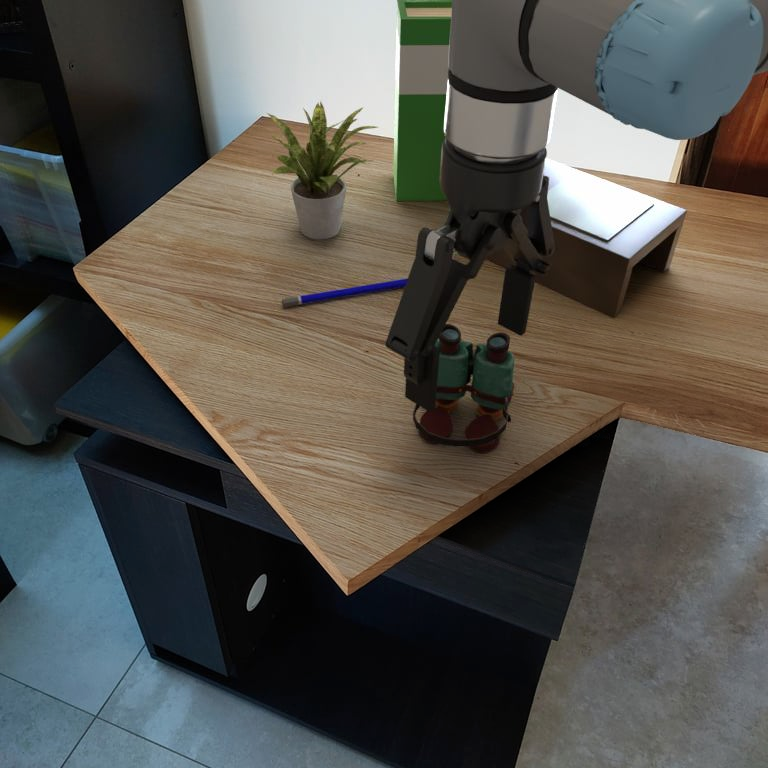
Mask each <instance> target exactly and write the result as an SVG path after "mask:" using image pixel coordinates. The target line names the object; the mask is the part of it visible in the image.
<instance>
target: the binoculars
mask: <svg viewBox="0 0 768 768" xmlns="http://www.w3.org/2000/svg"><path fill="white" fill-rule="evenodd" d="M510 344H511V336H510V334H508V333H506V332H502V331H501V332H499V331H498V332H495V333H493V334H491V335H490V336H489V337H488V338H487V339H486V343H480V342H478V343H476V347H475V349H474V344H473V342H472V341H468V340H463V339H462V331H461V330H460V329H459V328H458V327H457V326H456V325H454V324H451V323H446V324H445V326H444V328H443V330H442V332H441V334H440V336H439V338H438V340H437V342H436V344H435V346H436V347H437V348H439V349H440V357H439V368H438V379H437V391H436V402H435V408H434V409H433V410H431V411H430V412H428V411H427V410H425V412H424V413H423V414H422V415H421V417H420V420H419V421H418V419H417V417H416V414H417V411H418V410H419V409H420V408H421V407H420V406H419V405H417V404H415V403H414V404H415V405H414V408H413V412H412V421H413V424H414V426H415V429H416V430H417V431H418V434H419V436H420V437H421V438H422V440H423V441H425V442H426V443H428V444H431V445H441V446H448V447H455V448H461V447H462V448H469V449H470V450H471V451H473V452H475V453H479V454H486V453H487V454H488V453H490V452H492V451H494V450H495V449H496V448H497V447H498V446H499V445H500V441H501V435H502V434H503V433H504V432H505V431H506V429H507V425H508V423H510V422H512V416H511V414H510V412H509V410H508V409H509V406H510V404H511V401H512V398H513V396H514V395H515V392H514V390H515V383H514V373H515V371H514V370H515V356H514V354H513V353H512V352H511V351H509V349H510ZM470 383H471V384H470ZM467 392H469V393H470V398H471V399H472V401H474V402H475V403H476V413H477V414H478V416H476V417H475V418H473V419H472V420H471V421H470V422H469V423H468V424H467V426H466V428H465V430H464V435H465V438H452V437H451V436H452V433H453V430H454V420H453V417H452V415H451V414H450V412H453V411H454V410H456V409H457V408H458V406H459V403H460V402H459V401H460V399H463V398H464V397H465V396H466V394H467ZM502 417H503V418H504V421H505V423H503V424H502V425H501V426H500V427H499V425H498V423H497V422H496V420H499V419H500V418H502Z"/></svg>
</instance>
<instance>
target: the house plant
mask: <svg viewBox="0 0 768 768" xmlns="http://www.w3.org/2000/svg"><path fill="white" fill-rule="evenodd" d="M364 108H365V107H364V106H363V107H361V108H358V109H356V110H354V111H353V112H352V113H350V114H349V115H348V116H347V117H346V118H345V119H343V120H341V121H340V122H337V123H335V124H332V125H330V126H329V127H328V121H327V116H326V110H325V107H324V105H323V103H322V101H320V102H317V103H316V105H315V107H314V109H313V113H312V117H310V115H309V113H308V112H307V110H306V109H305V108H304V107H302V109H303V111H304V114H305V116H306V119H307V122H308V123H307V124H308V127H309V130H310V133H309V141H308V142H307V143H306V147H305V148H302V146H301V144H300V143H299V140H298V139H297V137H296V136H295V134H294V132H293V131H292V129H291V128H290V127H289V126H288V125H287V124H286V123H284V122H283V121H282V120H281V119H279V118H278V117H277V116H276V115H273V114H270V113H268V112H267V111H266V114H267V115H268V116H269V117H270V118H271V119H272V120H273V122H275V124H276V125H277V127H278V128H279V129H280V131H281V132H282V134H283V135H284V136H285V138H286V140H287V143H286V142H285V141H284V140H282V139H281V138H280V137H277V136H274V135H271V137H272V138H273V139H274V140H276V141H278V142H279V143H280V144H281V145H282V146H283V147H284V148H285V149H287V150H288V155H289V156H287V155H283V154H282V155H277V156H276V158H277V160H278V161H279V162H281V163H282V164H284V165H280V166H279V167H277V168H276V169H275V170H274V171H273V172H272V174H271V175H272V176H273V175H275V174H277V175H278V174H295V175H296V179H294V180H293V181H292V182H291V184H290V192H291V196H292V200H293V205H294V208H295V212H296V216H297V220H298V225H299V229H300V232H301V234H302V235H304V236H306V237H307V238H309V239H312V240H326V239H330V238H333V237H335V236H337V235H338V234H339V233H340V231H341V227H342V226H341V225H342V219H343V212H344V207H345V206H344V205H345V200H346V193H347V183H346V181H345V180H344V179H343V178H342V177H343V176H344V175H345V174H346V173H347V172H349V171H350V170H351V169H352V168H354V167H355V166H357V165H359V164H364V165H366V162H373V160H371V159H361V158H358V157H353V156H352V157H347V158H344V159H342V160H339V159H340V158H341V157H342V155H344V153H345V152H346V151H348V150H349V149H351V148H352V147H355V146H356V145H367V143H366V142H362V141H355V142H352V143H350V144H349V145H347V146H346V147H345V146H343V145H344V144H345V142H346V141H347V140H349V139H350V138H351V137H352V136H354V135H355V134H357V133H359V132H360V131H364V130H367V129H376V128H377V129H378V128H379V126H374V125H373V126H372V125H364V126H359V127H355V128H354V129H353V130H350V131H349V132H348V133H347V134H346V132H347V131H348V130H349V129H350V127H351V125H352V124H353V123H354V122H356V121H357V120H358V118H355V117H356V116H357V115H358V114H359V113H361V111H362V110H363V109H364ZM354 118H355V119H354ZM339 124H341V125H339ZM338 125H339V127H338V128H337V129H336V132H335V133H334V135H333V136H332V138H331V141H330V142H328V141H327V133H328V131H330V130H331V129H333V128H334V127H336V126H338ZM345 134H346V135H345ZM350 163H351V165H350V166H348V167H347V168H346V169H345V170H343V172H342V173H341V174H340V175H337V174H334V173H335V171H336V170H338V169H339V168H340V167H342V166H344V165H346V164H350Z"/></svg>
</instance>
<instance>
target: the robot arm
mask: <svg viewBox="0 0 768 768" xmlns="http://www.w3.org/2000/svg"><path fill="white" fill-rule="evenodd" d="M766 72H768V0H452V14H451V30H450V46H449V61H448V87H447V98H446V110H445V122H444V134H445V136H446V138H445V139H444V141H443V143H442V154H441V167H440V187H441V189H442V191H443V193H444V194H445V196H446V198H447V200H448V201H447V203H448V204H449V209H448V214H447V216H446V220H445V222H444V226H443V227H441V228H438V229H436V230H435V229H432V228H430V227H428V226H423V227H422V228H421V229H420V230H419V232H418V235H417V241H416V248H415V257H414V260H413V262H412V265H411V268H410V271H409V274H408V277H407V278H408V280H407V282H406V285H405V287H403V291H402V294H401V296H400V300H399V303H398V306H397V308H396V311H395V314H394V317H393V320H392V322H391V326H390V329H389V331H388V334H387V336H386V337H387V338H386V340H385V347H386V348H387V349H389V351H392V352H393V353H395V354H397V355H398V356H400V357H402V358H404V359H403V360H404V361H403V376H404V378H405V389H404V398H406V399H408V400H409V401H411V403H413V404H417V405H419V406H420V407H419V408H422V409H423V410H425V411H428V412H430V411H431V410H433V409H434V408H435V402H436V391H437V379H438V368H439V357H440V349H439V348H437V347H436V346H435V344H436V342H437V341H438V340H439V336H440V334H441V332H442V330H443V328H444V326H445V324H447V323H448V320H449V318H450V317H451V314H452V312H453V311H454V308H455V307H456V305H457V303H458V301H459V299H460V297H461V295H462V293H463V291H464V289H465V287H466V285H467V283H468V281H470V280H472V279H475V278H476V277H477V276H478V274H479V272H480V271H481V268H482V267H483V264H484V263H485V262H486V261H487V260H488V259H487V258H488V257H489V256H490V255H491V254H492V253H495V252H498V251H499V250H501V249H502V248H504V250H505V251H506V252H507V254H508V255H509V256H510V258H511V259H512V261H513V262H516V263H517V265H516V266H514V265H512V264H510V265H508V266H507V267H506V268H505V271H504V278H503V284H502V291H501V298H500V304H499V310H498V318H497V322H496V323H497V325H499V326H500V327H502V328H504V329H506V330H508V331H510V332H512V333H514V334H516V335H517V336H519V337H522V336H523V335H524V334H526V332H527V327H528V322H529V321H528V320H529V315H530V310H531V304H532V300H533V294H534V288H535V283H536V282H535V277H536V275H535V274H536V272H537V273H539V274H541V275H543V276H544V275H545V274H546V273H547V272H548V270H549V268H550V263H548V262H546V261H543V260H542V258H543V257H544V256H546V257H548V258H549V257H551V255H552V254H553V253H554V249H555V244H554V238H553V232H552V225H551V219H550V213H549V206H548V200H547V194H548V186H549V177H548V176H546V175H543V174H544V168H545V162H546V158H547V155H548V151H547V148H546V147H547V145H548V144H549V143H550V141H551V135H552V127H553V121H554V115H555V109H556V108H555V107H556V102H557V96H558V89H559V90H561V91H563V92H565V93H567V94H568V95H571V96H573V97H575V98H577V99H578V100H580V101H583V102H584V103H585V104H588V105H590V106H591V107H595V109H598V110H600V111H602V112H603V113H605V114H608V115H610V116H611V117H612V118H613V119H614V120H616V121H619V123H621V124H623V125H625V126H631V127H633V128H635V129H638V130H639V129H640V130H645V131H648V132H651V133H653V134H655V135H657V136H661V137H663V138H665V139H669V140H674V141H687V140H692V139H694V138H698V137H700V136H702V135H704V134H706V133H708V132H709V131H711V130H712V129H713V128H714V127H715V126H716V124H717V122H718V120H719V119H720V117H724V116H727V115H728V114H730V113H731V112H732V110H733V109H734V108H735V106H736V105H737V104H738V103H739V101H740V100H741V98H742V97H743V95H744V93H745V92H746V90H747V88H748V86H749V85H750V83H751V81H752V79H753V77H754V76H755V75H759V74H762V73H766ZM457 255H458V256H459V257H461V258H464V259H465V260H468V263H466V264H464V263H462V262H460V261H458V260H456V259H455V258H456V256H457Z"/></svg>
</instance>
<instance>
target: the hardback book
mask: <svg viewBox="0 0 768 768" xmlns="http://www.w3.org/2000/svg"><path fill="white" fill-rule="evenodd" d="M451 14H452V0H396V27H395V28H396V31H395V33H396V34H395V79H394V81H395V83H394V122H393V123H394V126H393V128H394V130H393V170H392V171H393V174H392V176H393V185H394V194H395V195H394V196H395V201H396V202H432V201H433V202H436V201H437V202H438V201H439V202H440V201H443V202H444V201H447V202H448V200H447V198H446V196H445V194H444V193H443V191H442V189H441V187H440V167H441V154H442V143H443V141H444V139H445V138H446V136H445V134H444V122H445V110H446V98H447V87H448V61H449V46H450V30H451Z"/></svg>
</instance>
